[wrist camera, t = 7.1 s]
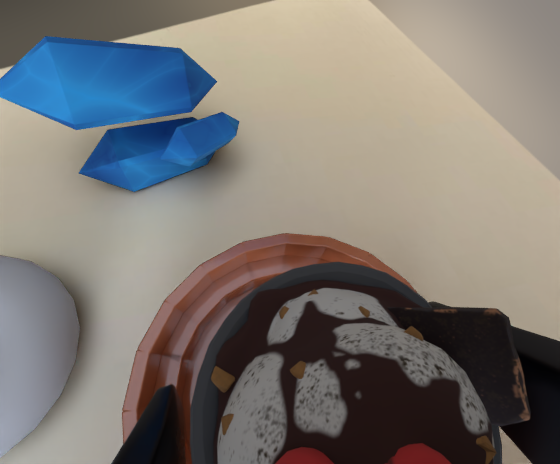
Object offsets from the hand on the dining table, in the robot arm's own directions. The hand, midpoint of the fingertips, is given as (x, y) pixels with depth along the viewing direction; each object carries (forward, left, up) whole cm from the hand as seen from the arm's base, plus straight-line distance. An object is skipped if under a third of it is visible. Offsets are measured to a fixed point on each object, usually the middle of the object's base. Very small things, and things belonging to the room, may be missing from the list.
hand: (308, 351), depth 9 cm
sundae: (-1, +1, -8) cm, 8 cm away
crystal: (+15, -4, -8) cm, 18 cm away
